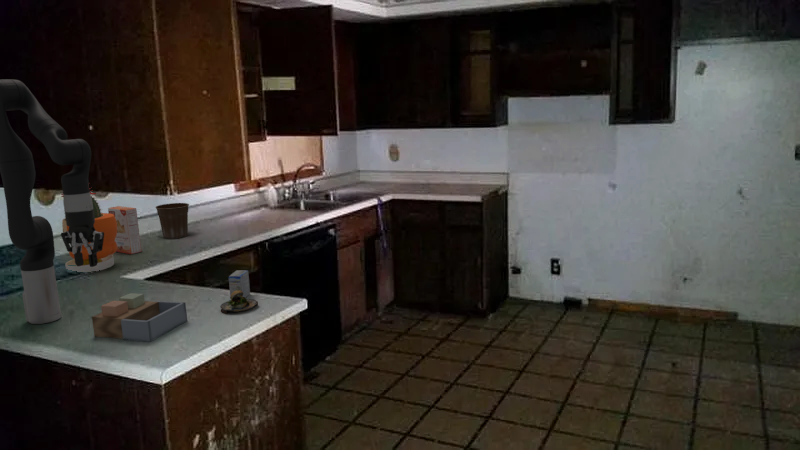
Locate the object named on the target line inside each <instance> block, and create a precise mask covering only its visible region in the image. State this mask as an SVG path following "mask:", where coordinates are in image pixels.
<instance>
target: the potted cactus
mask: <svg viewBox="0 0 800 450" xmlns="http://www.w3.org/2000/svg"><path fill="white" fill-rule="evenodd" d="M90 194H91V198H92V203H93V211H94V218H95V223H94V228H95V230H96V231H97V232H104V240H103V248H102V251H99V252H97V261H98V263H97V265H96V266H94V267H90V265H89V258H88V255H89V254H88V251H87V248H85V247H84V244H83V245H82V251H81V253H82V255H83V262H84V264H83V265H82V266H68V265H76V263H75V259H74V254H73V253H72V252H68V254H69V256H70V257H71V258H72V259H71V260H68V261H67V262H65V264H64V265H65V270H66V269H68V270H72V271H77V272H91V271H96V272H99V270H100V271H103V270H106V269H108V268H111V267H112V266H114V265H115V261H114V260H115V259H114V254H115V253H116V250H117V244H116V242H115V238H116V235H117V222H116V218H115V216H114V214H110V213H109V212H108V213H107V212H102V211H103V209H102V206H101V204H99V203H100V202H98V199H96V196H95V197H94V196H93V195H96V194H97V193H91V192H90ZM60 195H61V197H60V198H63V193H61V194H60ZM95 199H96V200H95ZM63 213H64V214H65V210H63ZM61 223H62V226H61V227H62V233H63V232H66V231H68V230H69V226H67V224H66V217H64V218H63V219H62V222H61ZM90 243H91V242H89V244H90ZM91 249H92V247H91ZM91 273H92V272H91Z"/></svg>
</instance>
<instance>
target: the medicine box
mask: <svg viewBox="0 0 800 450" xmlns="http://www.w3.org/2000/svg"><path fill="white" fill-rule="evenodd" d="M249 274H250V273H249V270H245V269H244V270H242V269H241V270H237V269H236V270H235V271H234V272H232V273H231V274H230V275H229V276H228V284H229V285H228V286H229V287H228V288H229V297H230V296H231V294H232V293H233V292H234V291H242V292H243V295H242V297H245V298H246V299H247V297H248V296H249V295H250V294H251V289H250V287H251V286H250V277H249ZM234 289H235V290H234Z"/></svg>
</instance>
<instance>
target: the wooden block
mask: <svg viewBox="0 0 800 450" xmlns="http://www.w3.org/2000/svg"><path fill="white" fill-rule="evenodd" d="M144 301H145V303H144V304H142V305H140V306H138V307H136V308H128V312H125V313H123V314H121V315H119V316H117V317H115V316H102V312H99V313H98V314H95V315H93V316H91V320H92V328H93V336H94V337H99V338H109V339H112V338H113V339H123V333H122V326H121V320H122V319H131V320H145V321H147V320H149V319H151V318H153V317H155V316H157V315H159V314H160V310H159V301H147V300H144Z"/></svg>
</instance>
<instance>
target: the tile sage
mask: <svg viewBox="0 0 800 450" xmlns="http://www.w3.org/2000/svg"><path fill="white" fill-rule="evenodd" d="M118 301H127V305H128V308H136V307H138V306H140V305H142V304H144V303H145V301H146V300H145V296H144V293H134V292H133V293H131V292H130V293H127V294H125V295H123V296H121V297H119V298H118Z"/></svg>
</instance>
